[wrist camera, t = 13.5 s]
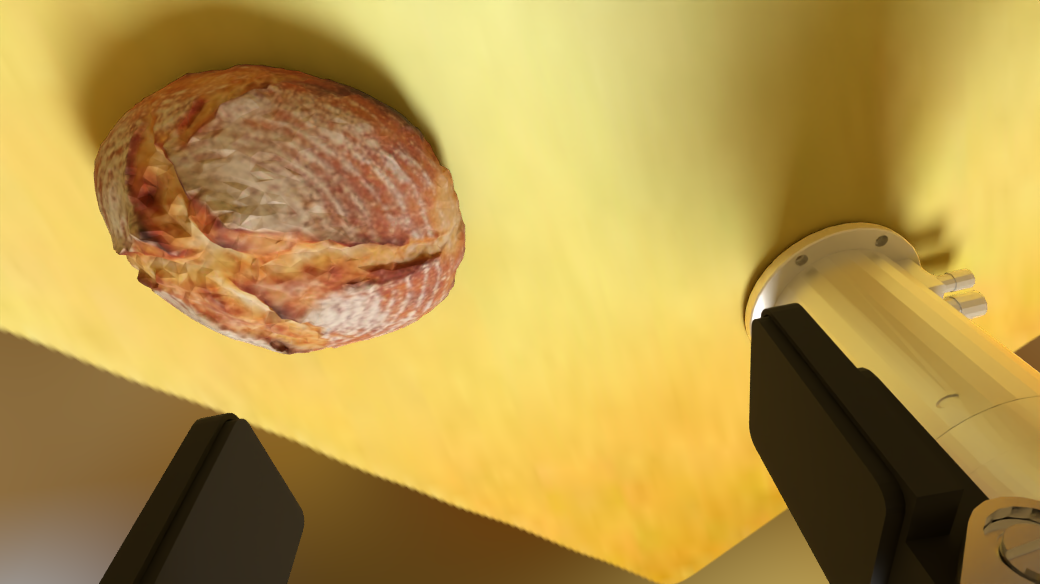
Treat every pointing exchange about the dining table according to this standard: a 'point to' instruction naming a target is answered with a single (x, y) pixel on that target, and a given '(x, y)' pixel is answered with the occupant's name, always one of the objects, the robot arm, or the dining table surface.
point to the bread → (280, 208)
